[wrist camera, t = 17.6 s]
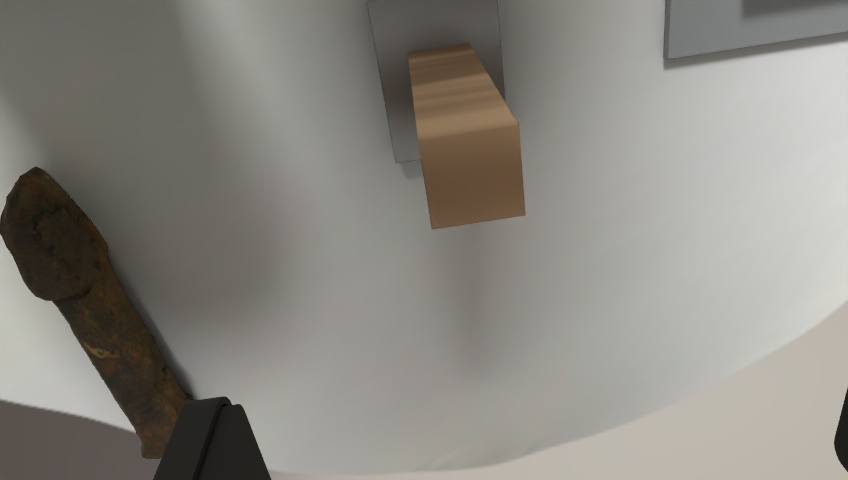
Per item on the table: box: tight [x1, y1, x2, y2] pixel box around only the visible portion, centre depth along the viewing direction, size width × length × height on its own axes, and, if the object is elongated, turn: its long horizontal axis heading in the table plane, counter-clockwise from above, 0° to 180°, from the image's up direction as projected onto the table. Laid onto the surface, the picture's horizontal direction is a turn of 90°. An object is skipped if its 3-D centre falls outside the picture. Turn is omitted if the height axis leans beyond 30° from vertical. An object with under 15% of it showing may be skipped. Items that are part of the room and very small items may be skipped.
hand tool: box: [0, 167, 193, 459], centre depth 36 cm, size 19×4×5 cm, turn 11°
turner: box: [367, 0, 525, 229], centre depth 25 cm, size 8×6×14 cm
